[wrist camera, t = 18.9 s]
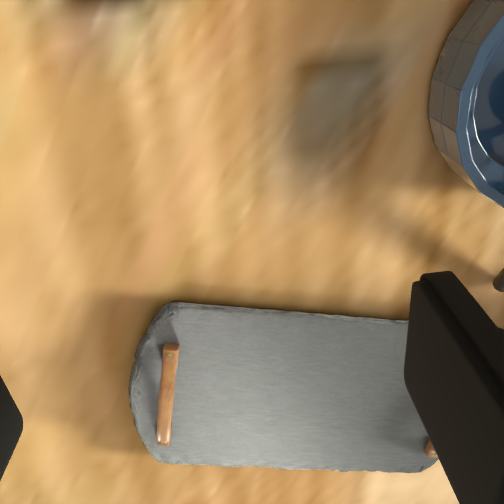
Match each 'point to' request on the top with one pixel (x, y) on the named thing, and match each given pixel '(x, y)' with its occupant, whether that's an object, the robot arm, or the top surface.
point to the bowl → (472, 99)
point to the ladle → (499, 281)
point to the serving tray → (276, 391)
